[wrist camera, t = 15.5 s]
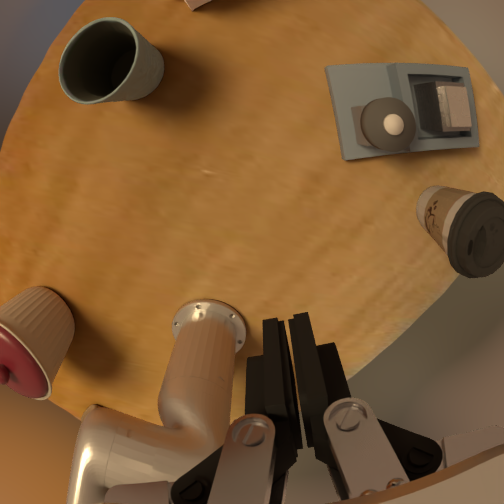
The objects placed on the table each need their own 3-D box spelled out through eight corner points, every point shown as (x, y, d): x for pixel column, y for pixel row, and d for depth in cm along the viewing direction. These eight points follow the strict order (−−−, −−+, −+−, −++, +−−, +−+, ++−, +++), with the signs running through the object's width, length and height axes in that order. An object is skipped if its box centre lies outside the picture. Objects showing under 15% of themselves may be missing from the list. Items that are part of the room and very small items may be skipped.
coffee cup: (403, 174, 39) (462, 200, 25) (460, 171, 38) (523, 195, 25) (403, 245, 44) (451, 293, 30) (457, 236, 43) (510, 276, 29)
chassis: (464, 146, 37) (485, 150, 32) (342, 159, 39) (354, 164, 34) (453, 67, 32) (473, 64, 27) (324, 67, 34) (334, 59, 29)
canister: (59, 354, 55) (17, 421, 36) (9, 292, 49) (-47, 348, 30) (105, 331, 51) (58, 413, 32) (47, 255, 45) (-27, 319, 26)
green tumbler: (173, 38, 32) (144, 10, 21) (167, 105, 36) (133, 99, 25) (108, 45, 32) (63, 27, 21) (102, 109, 36) (54, 109, 25)
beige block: (440, 85, 32) (468, 82, 25) (446, 127, 35) (475, 131, 28) (413, 85, 32) (440, 80, 26) (420, 129, 35) (448, 132, 28)
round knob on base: (396, 144, 36) (421, 150, 29) (354, 150, 36) (373, 155, 30) (389, 99, 33) (413, 96, 27) (346, 102, 34) (363, 98, 27)
